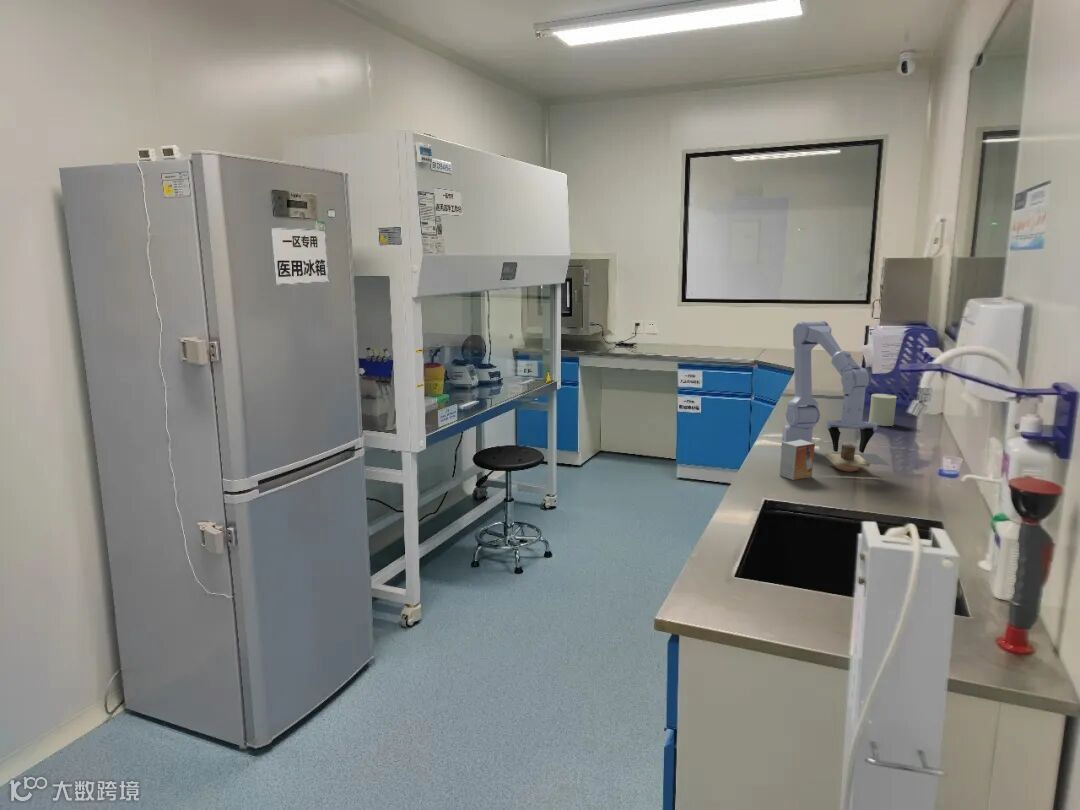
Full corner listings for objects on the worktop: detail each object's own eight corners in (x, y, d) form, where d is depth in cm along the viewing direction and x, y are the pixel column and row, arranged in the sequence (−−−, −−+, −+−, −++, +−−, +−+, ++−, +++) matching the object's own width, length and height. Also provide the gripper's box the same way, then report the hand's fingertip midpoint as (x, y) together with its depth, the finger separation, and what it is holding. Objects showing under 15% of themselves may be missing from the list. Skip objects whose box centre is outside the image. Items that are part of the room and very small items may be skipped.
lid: (834, 465, 209) (836, 449, 208) (825, 455, 219) (827, 441, 218) (869, 466, 208) (871, 451, 207) (858, 457, 218) (860, 442, 217)
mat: (842, 464, 220) (843, 462, 220) (831, 454, 232) (832, 452, 232) (889, 466, 219) (889, 464, 219) (875, 455, 230) (875, 454, 230)
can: (899, 425, 272) (902, 396, 270) (881, 427, 269) (885, 397, 266) (879, 420, 281) (883, 391, 278) (862, 422, 277) (866, 393, 275)
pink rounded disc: (837, 473, 211) (838, 464, 210) (831, 466, 217) (832, 457, 217) (861, 474, 210) (863, 465, 209) (854, 467, 217) (855, 458, 216)
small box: (793, 480, 204) (796, 446, 201) (778, 475, 208) (781, 441, 206) (812, 477, 207) (815, 443, 205) (797, 472, 212) (800, 438, 210)
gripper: (831, 410, 206) (827, 454, 209) (882, 411, 205) (877, 456, 208) (825, 405, 213) (821, 447, 216) (874, 406, 212) (869, 449, 214)
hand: (848, 451), depth 212 cm, fingers open, 7 cm apart
